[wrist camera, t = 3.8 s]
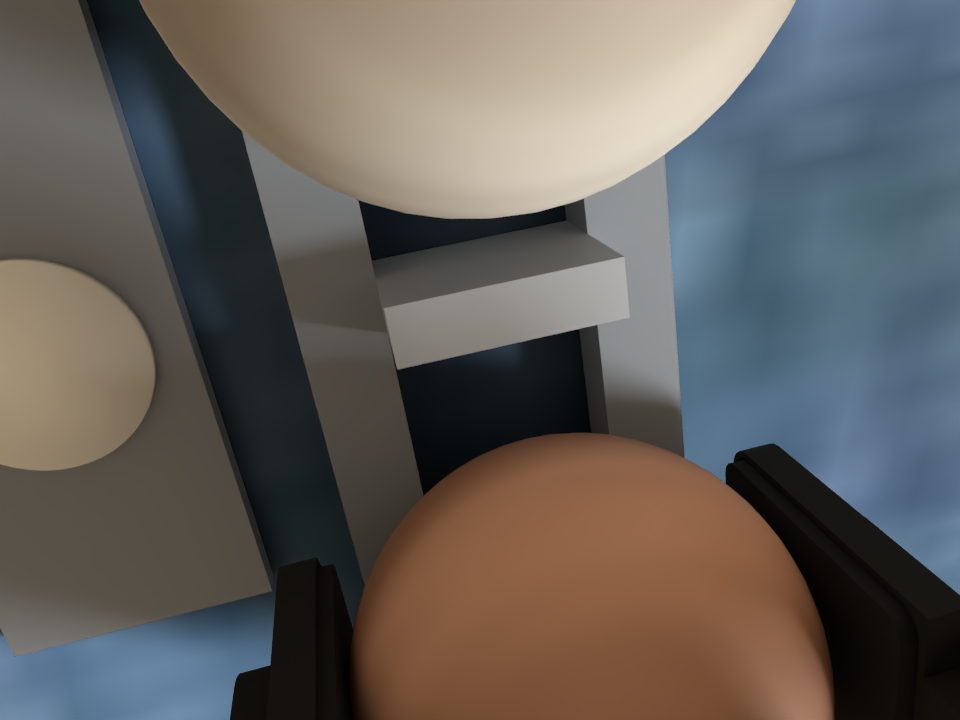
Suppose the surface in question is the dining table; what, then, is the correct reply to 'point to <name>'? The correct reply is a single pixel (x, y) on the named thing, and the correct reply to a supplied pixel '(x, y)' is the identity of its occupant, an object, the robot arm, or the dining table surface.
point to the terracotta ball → (587, 596)
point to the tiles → (99, 368)
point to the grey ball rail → (469, 321)
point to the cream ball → (468, 89)
